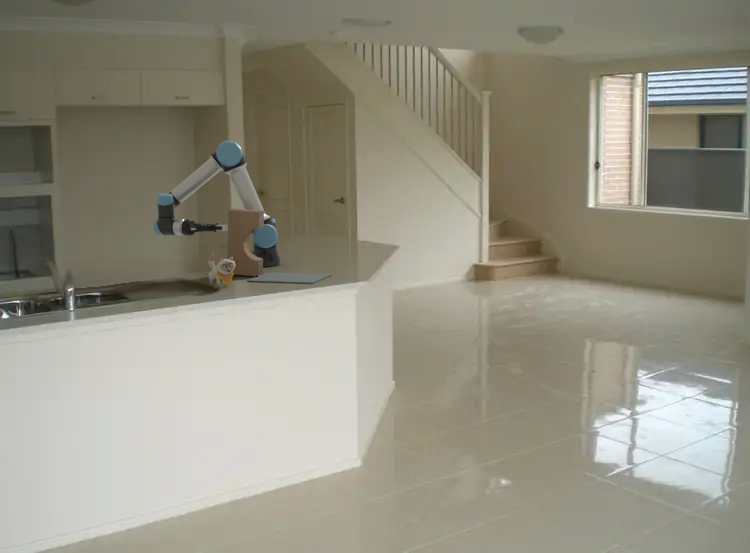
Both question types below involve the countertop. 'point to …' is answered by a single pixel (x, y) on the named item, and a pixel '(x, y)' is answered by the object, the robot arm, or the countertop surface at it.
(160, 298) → the countertop surface
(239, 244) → the decorative block
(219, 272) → the toy
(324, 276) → the mat
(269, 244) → the robot arm
